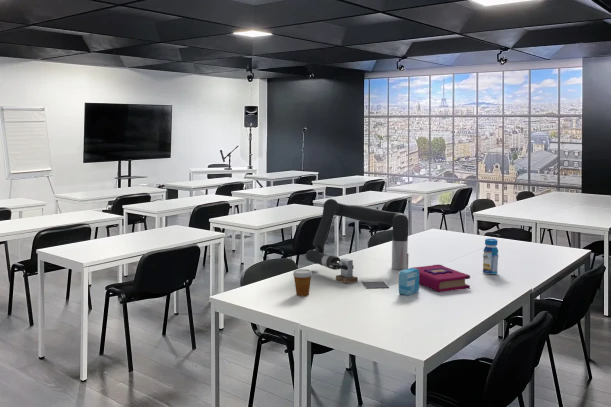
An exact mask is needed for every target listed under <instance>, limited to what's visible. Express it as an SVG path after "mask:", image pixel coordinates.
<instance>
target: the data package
mask: <svg viewBox="0 0 611 407" xmlns="http://www.w3.org/2000/svg"><path fill="white" fill-rule="evenodd" d="M419 290H420V284H419V269H415V268H413V267H408V269H405V270H399V273H398V294H399V295H402V296H403V295H404V296H411V295H413V294H415V293H418V292H419Z"/></svg>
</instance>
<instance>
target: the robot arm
mask: <svg viewBox="0 0 611 407" xmlns="http://www.w3.org/2000/svg"><path fill="white" fill-rule="evenodd" d="M322 208H323V209H322V216H321V219H320V222H319V225H318V227H317V230H316V232H315V236H314V239H313V240H312V241H313V242H312V245H313V246H314V247H315V248H316V249H315V250H314V249H310V250H307V252H305V260H306V261H308V262H310V263H313V264H315V265H320V266H322V267H325V268H327V269H331V270H334V271H337V270H341V269H344V270H348V267H347V266H345V265H342V264H341V258H340V257H338V256H335V255H332V254H327V253H325V244H326V242H327V238H328V236H329V232H330V227H331V223H332V222H333V219H334V218H335V216H336V217H345V218H348V219H352V220H356V221H359V222H363V223H370V224H386V225H388V226H389V225H390V226H392V235H391V238H392V239H391V268H392V270H398V271H402V270H405V269H409V256H410V255H409V251H408V250H409V248H408V245H409V228H410V227H409V226H410V225H409V219H408V216H407V215H406V214H405V213H403V212H393V211H385V210H382V209H378V208H374V207H371V206H365V205H359V204H358V205H352V204H350V205H349V204H345V203H344V204H343V203H340V202H338V201H337V200H336V199H333V198H328V199H326V200H325V202H324V203H323V206H322ZM353 269H354V265H353Z"/></svg>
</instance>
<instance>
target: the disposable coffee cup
mask: <svg viewBox="0 0 611 407" xmlns="http://www.w3.org/2000/svg"><path fill="white" fill-rule="evenodd" d="M312 275H313V273H312V271H311V270H310V269H304V268H302V269H301V268H300V269H296V270H293V278H294V286H295V294H297V295H296V296H298V295H299V296H298V297H307V295H308V296H309V295H310V289H311V288H310V286H311V280H312V279H311V278H312Z"/></svg>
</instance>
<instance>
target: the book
mask: <svg viewBox="0 0 611 407" xmlns="http://www.w3.org/2000/svg"><path fill="white" fill-rule="evenodd" d="M412 268H415V269H419V285H422V286H424V287H426V288H428V289H430V290H433V291H435V292H438V293H443V292H452V291H458V289H460V290H467V289H466V288H468V289H471V285H469V284H466V280H469V279H471V275H470V274H467V273H464V272H461V271H458V270H455V269H452V268H450V267H447V266H444V265H442V264H432V265H426V266H425V265H424V266H415V267H412ZM451 290H452V291H451Z"/></svg>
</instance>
